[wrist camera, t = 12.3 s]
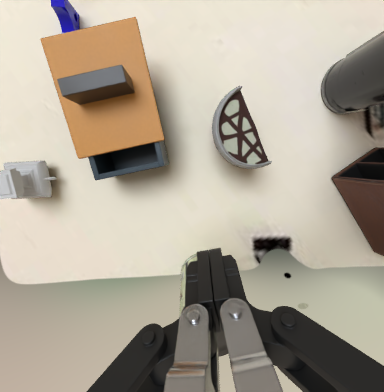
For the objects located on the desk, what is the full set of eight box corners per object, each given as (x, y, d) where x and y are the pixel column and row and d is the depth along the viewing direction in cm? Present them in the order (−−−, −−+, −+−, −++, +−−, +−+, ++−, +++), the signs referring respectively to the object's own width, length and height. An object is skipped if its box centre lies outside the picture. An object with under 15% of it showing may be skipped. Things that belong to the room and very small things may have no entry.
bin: (92, 100, 36) (65, 83, 28) (151, 87, 36) (141, 67, 28) (113, 176, 38) (95, 180, 31) (169, 164, 38) (164, 165, 30)
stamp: (60, 159, 38) (24, 159, 29) (66, 194, 39) (33, 203, 31) (12, 162, 38) (-38, 163, 29) (19, 197, 39) (-26, 207, 30)
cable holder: (89, 67, 35) (77, 56, 31) (69, 66, 35) (54, 54, 31) (87, 15, 33) (74, -4, 30) (66, 13, 33) (50, -6, 29)
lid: (44, 41, 27) (13, 16, 22) (137, 20, 27) (126, -9, 22) (80, 158, 30) (60, 158, 25) (164, 140, 30) (160, 136, 25)
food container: (196, 117, 37) (199, 102, 27) (226, 102, 37) (240, 81, 27) (222, 177, 39) (234, 183, 29) (251, 163, 39) (273, 165, 29)
